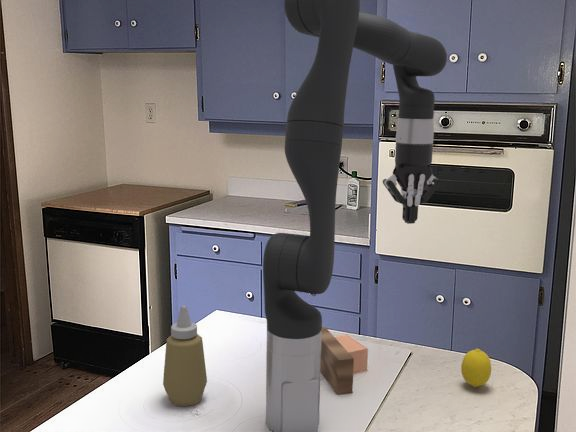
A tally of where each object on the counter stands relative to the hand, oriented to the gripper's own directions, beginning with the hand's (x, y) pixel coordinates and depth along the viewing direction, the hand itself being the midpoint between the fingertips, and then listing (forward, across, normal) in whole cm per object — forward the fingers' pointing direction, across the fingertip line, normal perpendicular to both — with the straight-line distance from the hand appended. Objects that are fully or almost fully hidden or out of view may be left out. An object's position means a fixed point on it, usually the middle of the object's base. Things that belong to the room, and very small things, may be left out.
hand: (409, 222), depth 129 cm
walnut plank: (+29, -20, -7) cm, 36 cm away
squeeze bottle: (+29, -49, -9) cm, 58 cm away
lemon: (+29, +6, -19) cm, 35 cm away
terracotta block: (+29, -15, -4) cm, 33 cm away
